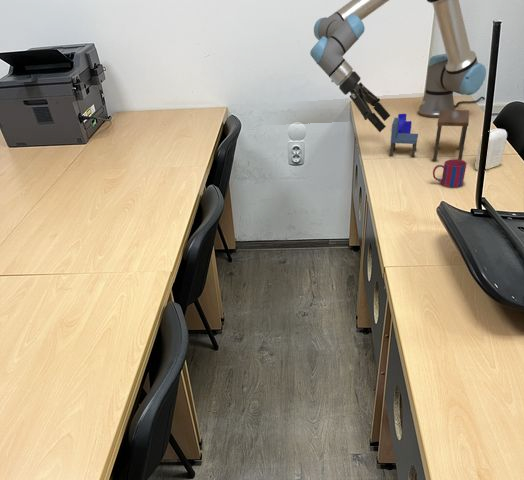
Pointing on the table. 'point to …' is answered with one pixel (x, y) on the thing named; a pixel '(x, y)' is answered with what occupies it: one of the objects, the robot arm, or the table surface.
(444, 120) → the desk
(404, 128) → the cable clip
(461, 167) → the mug
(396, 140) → the chair
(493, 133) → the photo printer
